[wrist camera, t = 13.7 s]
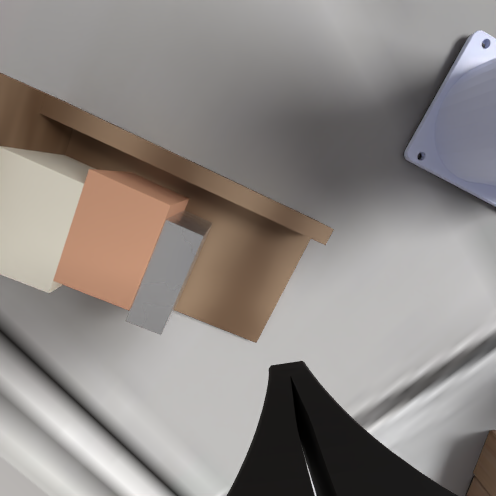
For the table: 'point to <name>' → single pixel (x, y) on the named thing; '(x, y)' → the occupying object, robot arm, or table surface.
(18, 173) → the cream book
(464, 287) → the table surface
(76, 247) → the salmon orange block
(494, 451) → the bookends
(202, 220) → the grey rectangular block
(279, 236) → the wooden shelf
